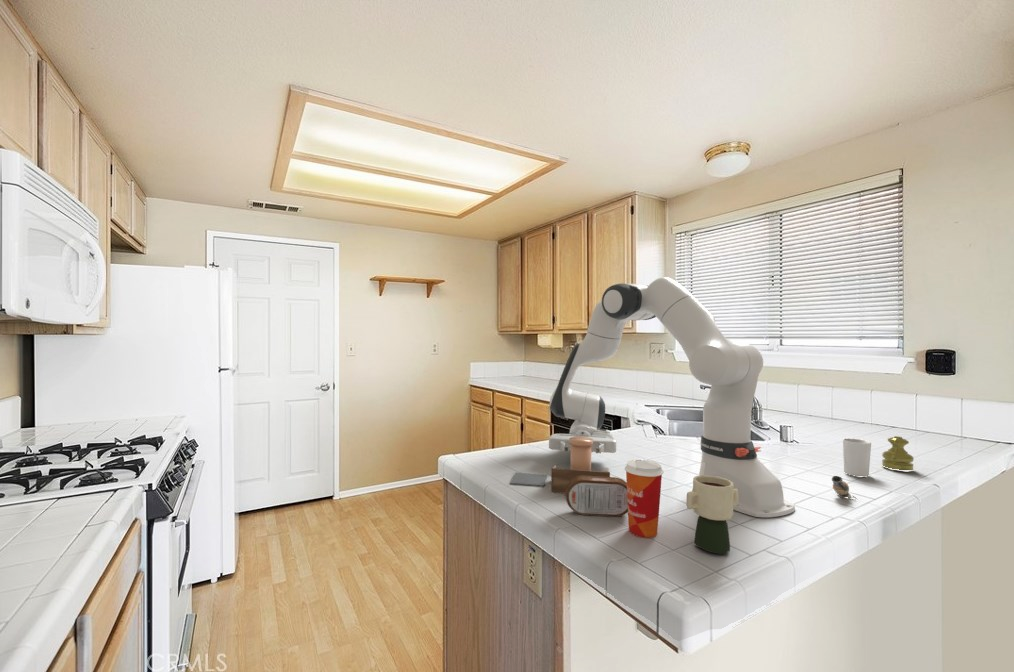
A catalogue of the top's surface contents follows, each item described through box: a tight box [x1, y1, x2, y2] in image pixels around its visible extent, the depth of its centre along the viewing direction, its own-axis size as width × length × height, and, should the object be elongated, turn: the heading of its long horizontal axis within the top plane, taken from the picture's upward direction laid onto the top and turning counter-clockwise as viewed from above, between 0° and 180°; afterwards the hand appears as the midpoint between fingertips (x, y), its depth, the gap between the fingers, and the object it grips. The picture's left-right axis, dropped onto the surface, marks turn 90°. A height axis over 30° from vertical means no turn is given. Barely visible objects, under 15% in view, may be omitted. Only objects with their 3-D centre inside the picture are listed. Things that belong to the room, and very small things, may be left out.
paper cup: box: [624, 459, 664, 539], centre depth 93 cm, size 8×8×14 cm
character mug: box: [686, 475, 738, 554], centre depth 86 cm, size 11×7×13 cm, turn 102°
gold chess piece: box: [881, 435, 915, 471], centre depth 139 cm, size 7×8×10 cm
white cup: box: [842, 437, 872, 476], centre depth 134 cm, size 7×7×10 cm
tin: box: [564, 475, 628, 518], centre depth 102 cm, size 15×3×8 cm, turn 84°
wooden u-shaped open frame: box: [550, 465, 611, 494], centre depth 119 cm, size 10×15×6 cm
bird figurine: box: [831, 475, 857, 499], centre depth 114 cm, size 5×5×6 cm
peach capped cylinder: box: [569, 437, 593, 471], centre depth 123 cm, size 6×6×12 cm
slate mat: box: [509, 472, 548, 488], centre depth 125 cm, size 9×9×1 cm
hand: (581, 449), depth 131 cm, fingers open, 8 cm apart
